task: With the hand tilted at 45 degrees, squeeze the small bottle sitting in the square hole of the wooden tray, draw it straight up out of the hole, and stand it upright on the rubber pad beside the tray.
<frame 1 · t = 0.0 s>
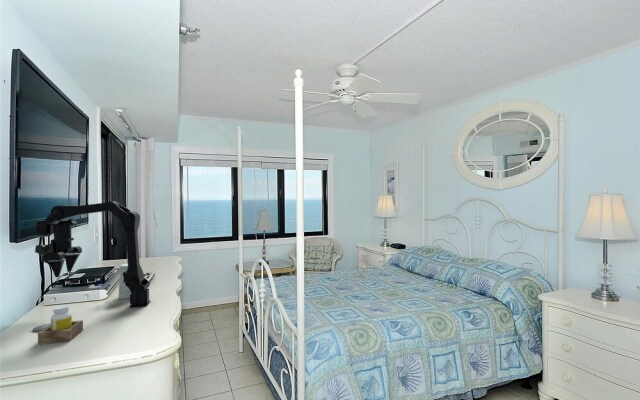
hand: (63, 274, 135), 15 cm above the dresser, tool pointing down, fingers open, 9 cm apart
wooden tray: (61, 336, 109), on the dresser
supplement bottle: (61, 337, 109), resting in wooden tray
skincare box: (130, 296, 153), on the dresser
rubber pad: (45, 328, 117), on the dresser
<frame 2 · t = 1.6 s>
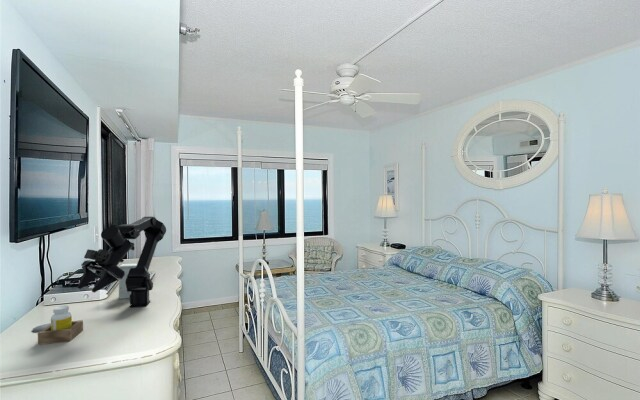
hand: (85, 290, 116), 13 cm above the dresser, tool tilted 45°, fingers open, 9 cm apart
nothing on the dresser moved.
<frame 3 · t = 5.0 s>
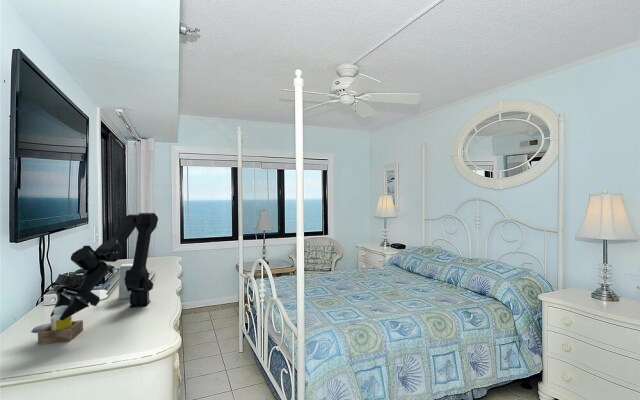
hand: (56, 318, 108), 7 cm above the dresser, tool tilted 45°, fingers closed on supplement bottle, 5 cm apart
supplement bottle: (61, 337, 109), resting in wooden tray, touching gripper
everything else where it was.
when the fingers open (8 cm above the dresser, at t = 10.0 s): supplement bottle drops 1 cm, resting on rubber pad.
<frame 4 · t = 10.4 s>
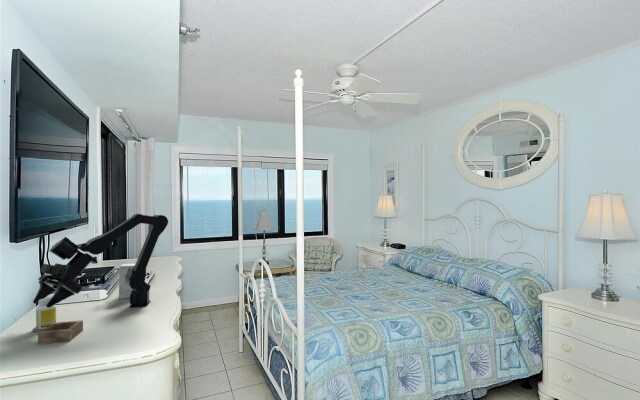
hand: (40, 305, 115), 9 cm above the dresser, tool tilted 45°, fingers open, 9 cm apart
supplement bottle: (46, 327, 117), resting on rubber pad
everything else where it was.
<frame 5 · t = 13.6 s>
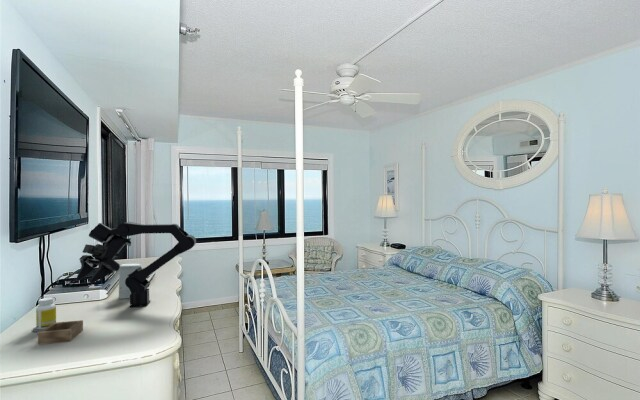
hand: (83, 281, 128), 14 cm above the dresser, tool tilted 45°, fingers open, 9 cm apart
nothing on the dresser moved.
at the end: supplement bottle 0.2 cm off-centre on the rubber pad, point 0.2 cm above the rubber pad's base; supplement bottle tilted 1°; the gripper is holding nothing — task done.
